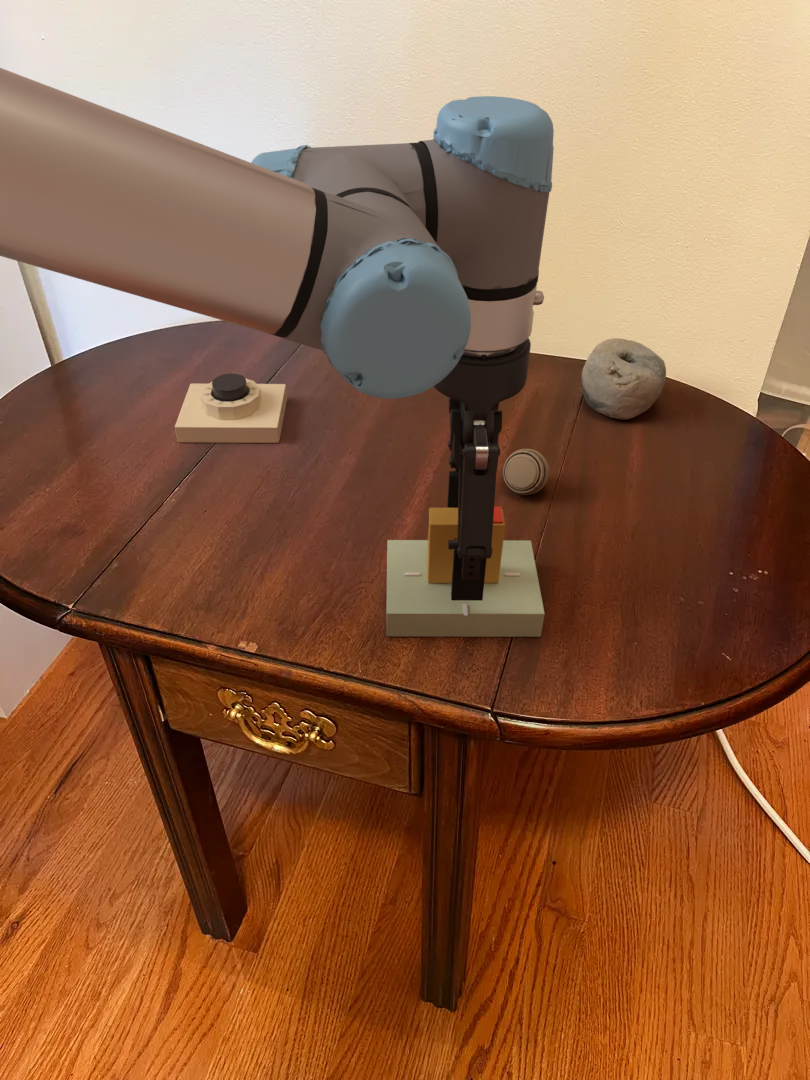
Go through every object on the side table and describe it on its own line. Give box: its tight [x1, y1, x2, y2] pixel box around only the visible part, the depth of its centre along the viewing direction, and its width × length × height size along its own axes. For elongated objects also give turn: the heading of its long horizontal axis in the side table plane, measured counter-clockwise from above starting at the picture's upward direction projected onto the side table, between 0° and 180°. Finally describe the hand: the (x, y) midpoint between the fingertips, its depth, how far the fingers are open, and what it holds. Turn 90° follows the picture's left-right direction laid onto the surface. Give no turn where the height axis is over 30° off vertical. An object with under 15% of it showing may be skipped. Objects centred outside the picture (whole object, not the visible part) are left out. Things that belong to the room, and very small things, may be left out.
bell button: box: [211, 372, 248, 402], centre depth 100 cm, size 4×4×2 cm
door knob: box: [502, 448, 551, 496], centre depth 91 cm, size 5×5×5 cm
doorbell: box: [174, 377, 288, 444], centre depth 101 cm, size 12×10×4 cm
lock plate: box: [385, 539, 546, 638], centre depth 79 cm, size 14×11×3 cm
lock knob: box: [427, 506, 506, 583], centre depth 75 cm, size 6×2×7 cm, turn 90°
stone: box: [581, 337, 667, 420], centre depth 104 cm, size 10×10×10 cm
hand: (463, 561), depth 77 cm, fingers open, 9 cm apart
